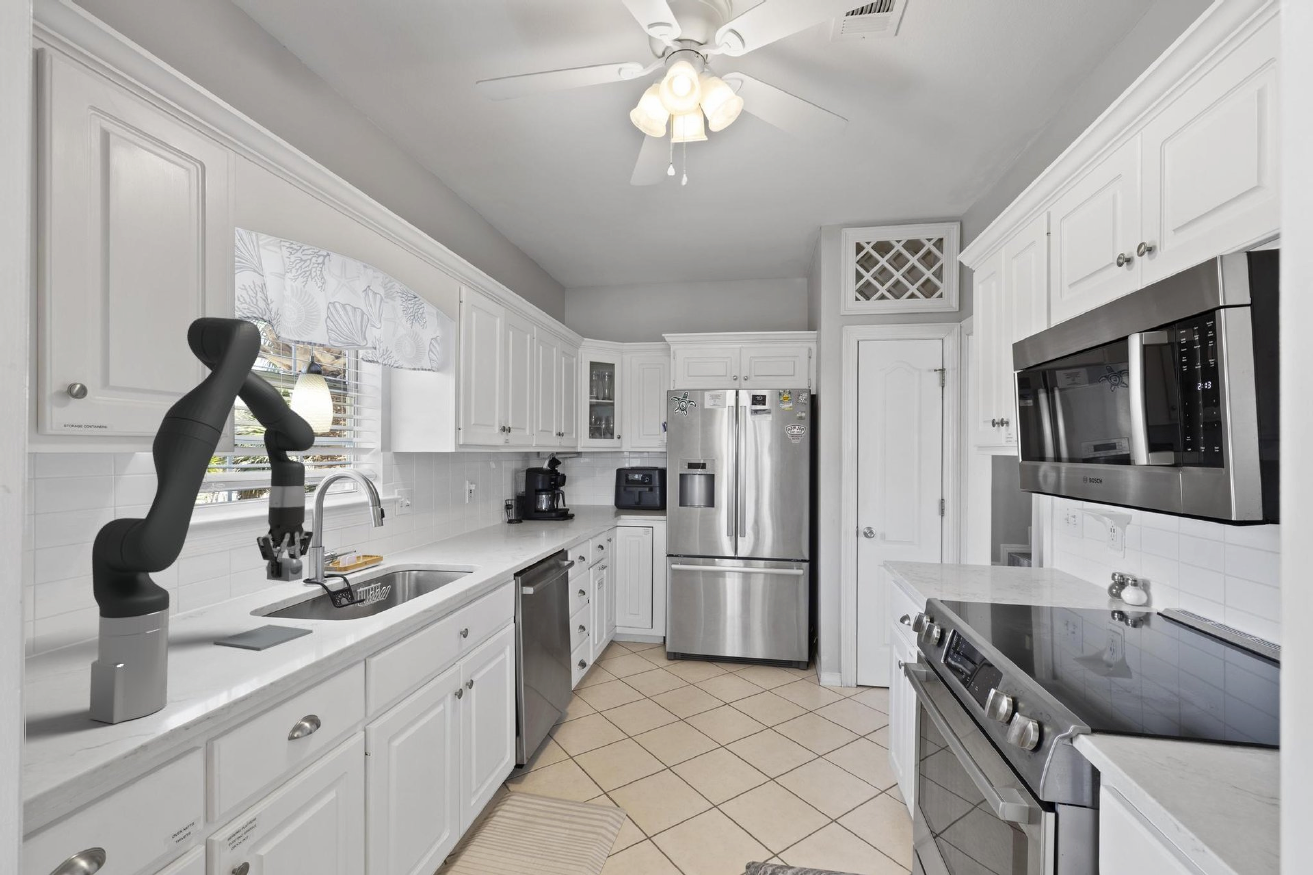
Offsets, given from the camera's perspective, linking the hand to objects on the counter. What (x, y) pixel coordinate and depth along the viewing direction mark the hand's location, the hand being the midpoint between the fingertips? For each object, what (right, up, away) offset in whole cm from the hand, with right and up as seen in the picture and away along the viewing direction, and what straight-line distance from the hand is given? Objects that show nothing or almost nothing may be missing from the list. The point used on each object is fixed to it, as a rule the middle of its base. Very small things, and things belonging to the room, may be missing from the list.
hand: (284, 575), depth 146 cm
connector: (0, -1, 0) cm, 1 cm away
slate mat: (-4, -14, -2) cm, 15 cm away
